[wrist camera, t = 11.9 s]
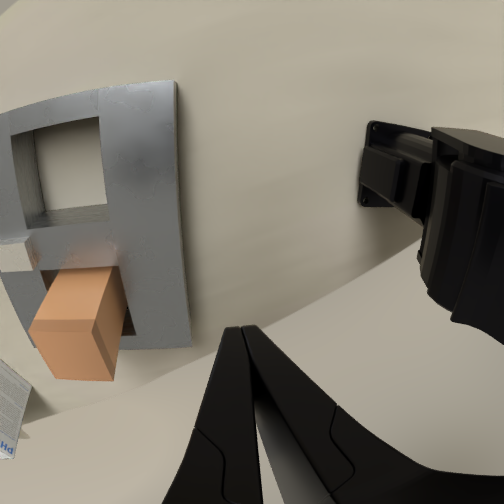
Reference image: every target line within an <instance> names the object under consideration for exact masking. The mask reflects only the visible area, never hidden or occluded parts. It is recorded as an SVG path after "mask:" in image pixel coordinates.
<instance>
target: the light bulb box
mask: <svg viewBox="0 0 504 504" xmlns="http://www.w3.org/2000/svg"><path fill="white" fill-rule="evenodd" d="M31 388H32V385H31V384H29V383H28V382H27V381H26V380H24V379H23V378H22V377H21V376H19V375H18V374H17V373H16V372H15V371H13V370H12V369H11V368H10V367H9V366H8V365H6V364H5V363H4V362H3V361H2V360H1V359H0V459H14V456H15V451H16V446H17V442H18V437H19V432H20V428H21V424H22V420H23V416H24V412H25V409H26V405H27V402H28V398H29V395H30V391H31Z"/></svg>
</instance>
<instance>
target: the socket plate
mask: <svg viewBox="0 0 504 504" xmlns="http://www.w3.org/2000/svg"><path fill="white" fill-rule="evenodd" d="M96 116H99V127H100V142H101V153H102V164H103V173H104V182H105V189H106V197H107V204H103V205H94V206H84V207H76V208H67V209H59V210H51V211H45V208H44V203H43V198H42V193H41V187H40V182H39V175H38V169H37V162H36V154H35V146H34V136H33V129H37V128H41V127H46V126H50V125H54V124H59V123H64V122H69V121H74V120H79V119H84V118H90V117H96ZM106 266H119V269H120V273H121V278H122V282H123V286H124V290H125V294H126V298H127V302H128V306H129V310H126V313H125V318H124V323H123V328H122V333H121V339H120V344H119V350H133V349H162V348H182V347H192V333H191V317H190V309H189V301H188V292H187V283H186V273H185V263H184V252H183V240H182V227H181V213H180V197H179V178H178V152H177V82H175V81H174V80H165V81H153V82H143V83H134V84H126V85H119V86H112V87H106V88H100V89H94V90H89V91H84V92H79V93H74V94H69V95H65V96H61V97H56V98H52V99H48V100H45V101H41V102H37V103H34V104H30V105H27V106H24V107H20V108H17V109H14V110H11V111H8V112H5V113H2V114H0V277H1V279H2V282H3V284H4V286H5V289H6V291H7V294H8V296H9V298H10V300H11V303H12V305H13V307H14V309H15V311H16V313H17V316H18V318H19V320H20V322H21V324H22V326H23V328H24V330H25V332H26V333H27V335H28V337H29V339H30V341H31V343H32V345H33V346H34V348H37V347H36V345H35V343H34V341H33V340H32V338H31V336H30V334H29V332H28V330H29V328H30V326H31V324H32V322H33V320H34V318H35V316H36V314H37V312H38V310H39V308H40V306H41V304H42V302H43V300H44V298H45V296H46V294H47V292H48V291H49V289H50V287H51V285H52V283H53V282H54V280H55V278H56V276H57V275H58V273H59V271H60V269H73V268H90V267H106Z"/></svg>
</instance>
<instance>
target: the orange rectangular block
mask: <svg viewBox="0 0 504 504" xmlns="http://www.w3.org/2000/svg"><path fill="white" fill-rule="evenodd" d="M127 304H128V302H127V298H126V294H125V290H124V286H123V282H122V278H121V273H120V269H119V266H106V267H90V268H73V269H60V271H59V273H58V275H57V276H56V278H55V280H54V282H53V283H52V285H51V287H50V289H49V291H48V292H47V294H46V296H45V298H44V300H43V302H42V304H41V306H40V308H39V310H38V312H37V314H36V316H35V318H34V320H33V322H32V324H31V326H30V328H29V330H28V332H29V334H30V336H31V338H32V340H33V341H34V343H35V345H36V347H37V349H38V350H39V352H40V354H41V356H42V357H43V359H44V361H45V362H46V364H47V366H48V367H49V369H50V371H51V372H52V374H53V375H54V377H55V378H56V379H68V380H86V381H114V374H115V368H116V362H117V355H118V350H119V344H120V339H121V333H122V328H123V323H124V318H125V313H126V308H127Z"/></svg>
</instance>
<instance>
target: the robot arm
mask: <svg viewBox="0 0 504 504" xmlns="http://www.w3.org/2000/svg"><path fill="white" fill-rule="evenodd" d="M374 125H376V129H375V130H374V129H373V127H374ZM428 137H429V139H428ZM364 198H366V200H365V201H364V202H363V199H364ZM358 203H359V204H360V205H362V206H364V207H396V208H397V209H399V210H400V211H402V212H403V213H404V214H406V215H407V216H409V217H410V218H412V219H413V220H414V221H416V222H417V223H418V224H420V225H421V226H423V227H424V229H423V235H422V241H421V246H420V250H418V254H417V260H418V262H419V264H420V272H421V277H422V279H423V281H424V283H425V285H426V287H427V288H428V290H427V294H428V295H429V296H430V297H431V298H432V299H433V300H434V301H435V302H436V303H437V304H438V305H440V306H441V307H443V308H445V309H446V310H448V311H450V312H452V315H451V318H450V320H451V321H452V322H455V323H461V324H466V325H469V326H472V327H474V328H477V329H480V330H482V331H483V332H485V333H487V334H488V335H490V336H492V337H493V338H494V339H496V340H497V341H498V342H500V343H502V344H503V345H504V138H501V137H498V136H495V135H491V134H488V133H484V132H481V131H477V130H468V129H456V128H443V127H431V132H429V131H425V130H420V129H416V128H411V127H407V126H402V125H397V124H391V123H386V122H380V121H375V120H372V121H370V122H369V123H368V126H367V135H366V144H365V148H364V151H363V159H362V167H361V174H360V188H359V194H358ZM256 424H257V427H258V430H259V433H260V436H261V439H262V441H263V445H264V447H265V451H266V454H267V457H268V459H269V462H270V465H271V468H272V471H273V474H274V476H275V479H276V482H277V484H278V487H279V490H280V493H281V495H282V498H283V501H284V503H285V504H504V476H489V475H474V474H462V473H453V472H445V471H438V470H434V469H431V468H427V467H425V466H423V465H421V464H419V463H417V462H415V461H413V460H412V459H410V458H409V457H407V456H405V455H404V454H402V453H401V452H399V451H398V450H396V449H395V448H393V447H392V446H390V445H389V444H387V443H386V442H384V441H382V440H381V439H379V438H378V437H377V436H375V435H374V434H373V433H371V432H370V431H368V430H367V429H366V428H365V427H363V426H362V425H361V424H360V423H358V422H357V421H356V420H355V419H354V418H353V417H351V416H350V415H349V414H348V413H347V412H346V411H345V410H344V409H342V408H341V407H340V406H339V405H338V406H337V403H336V402H335V401H334V400H333V399H332V398H330V397H329V396H328V395H327V394H326V393H325V392H324V391H323V390H322V389H321V388H320V387H319V386H318V385H317V384H316V383H314V382H313V381H312V380H311V379H310V378H309V377H308V376H307V375H306V374H305V373H304V372H303V371H302V370H301V369H300V368H299V367H298V366H297V365H296V364H295V363H294V362H293V361H292V360H291V359H290V358H289V357H288V356H287V355H286V354H284V352H283V351H282V350H281V349H280V348H278V347H277V346H276V345H275V344H274V343H273V342H272V341H271V340H270V339H269V338H268V337H267V336H266V335H265V334H264V333H263V331H262V330H261V329H260V328H259V327H258V326H256V325H246V326H242V327H241V328H240V327H239V326H235V327H226V328H225V330H224V333H223V336H222V339H221V342H220V345H219V349H218V352H217V355H216V358H215V361H214V365H213V368H212V371H211V374H210V377H209V381H208V384H207V387H206V390H205V394H204V397H203V400H202V403H201V406H200V409H199V413H198V416H197V419H196V422H195V426H194V427H195V428H194V429H193V431H192V434H191V438H190V441H189V444H188V447H187V449H186V452H185V455H184V458H183V460H182V463H181V465H180V467H179V469H178V471H177V474H176V476H175V478H174V480H173V482H172V484H171V486H170V488H169V490H168V492H167V494H166V496H165V498H164V500H163V502H162V504H263V495H262V484H261V474H260V463H259V453H258V442H257V431H256Z"/></svg>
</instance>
